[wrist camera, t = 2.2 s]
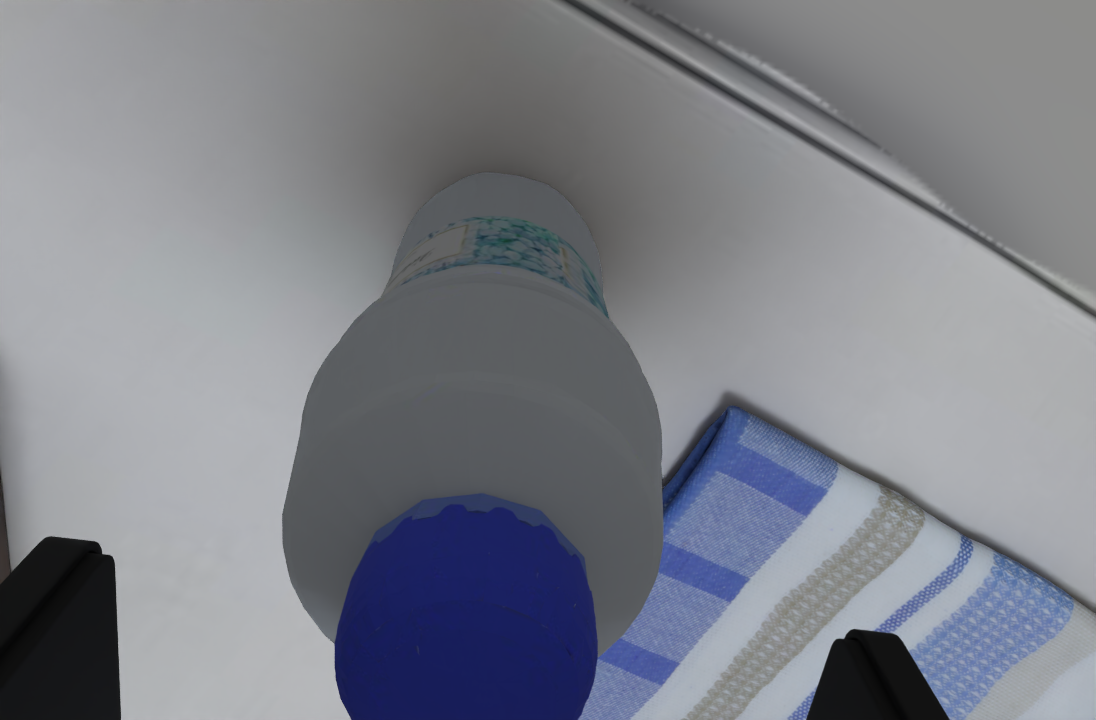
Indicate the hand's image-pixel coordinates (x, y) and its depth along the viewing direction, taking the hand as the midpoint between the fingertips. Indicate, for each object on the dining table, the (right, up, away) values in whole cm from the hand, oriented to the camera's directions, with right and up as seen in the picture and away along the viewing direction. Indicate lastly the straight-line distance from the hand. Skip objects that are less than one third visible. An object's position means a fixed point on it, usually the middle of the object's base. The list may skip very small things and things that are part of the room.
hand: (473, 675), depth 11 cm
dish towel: (+13, -9, +25) cm, 29 cm away
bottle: (-1, +8, +18) cm, 19 cm away
